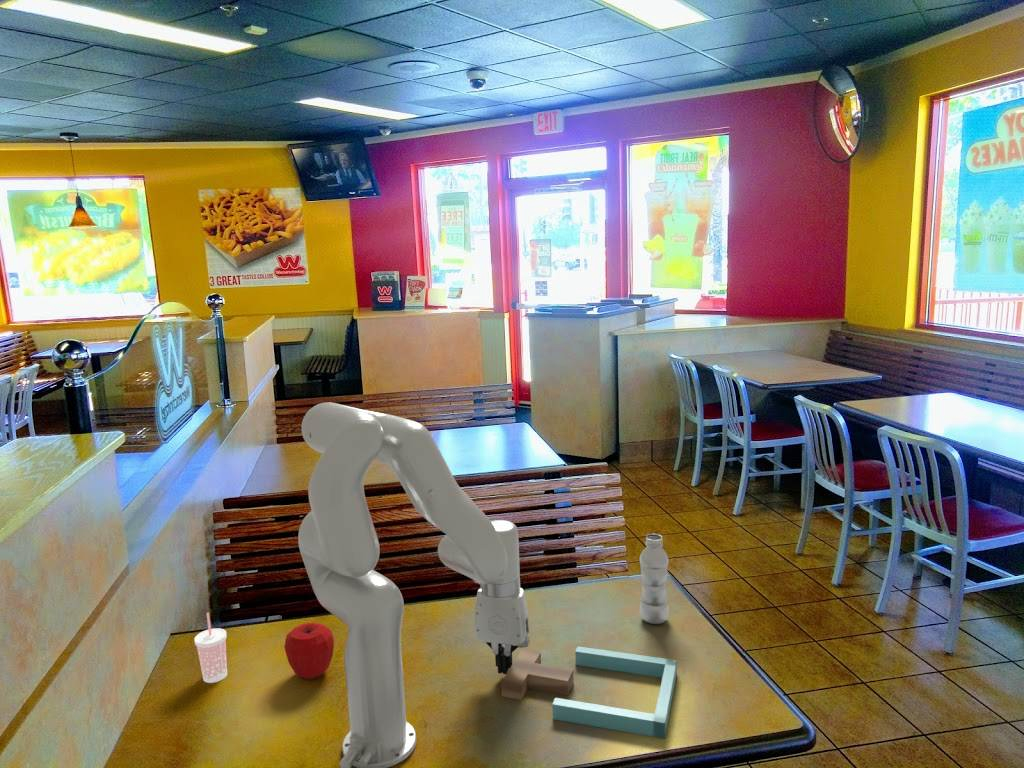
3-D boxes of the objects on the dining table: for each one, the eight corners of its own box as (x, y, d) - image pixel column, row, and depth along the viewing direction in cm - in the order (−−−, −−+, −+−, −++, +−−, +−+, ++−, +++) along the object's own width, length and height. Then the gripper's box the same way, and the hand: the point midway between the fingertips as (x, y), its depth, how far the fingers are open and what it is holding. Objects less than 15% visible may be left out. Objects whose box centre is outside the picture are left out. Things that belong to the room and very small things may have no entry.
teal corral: (664, 738, 127) (664, 723, 126) (552, 719, 133) (552, 704, 132) (676, 674, 145) (676, 660, 145) (577, 659, 152) (577, 646, 151)
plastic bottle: (647, 630, 162) (647, 544, 158) (634, 615, 169) (634, 533, 165) (674, 625, 164) (674, 540, 160) (660, 611, 170) (660, 529, 166)
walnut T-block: (562, 707, 136) (561, 693, 136) (501, 696, 140) (501, 681, 140) (579, 672, 147) (578, 658, 147) (522, 662, 151) (522, 649, 151)
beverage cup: (218, 664, 154) (210, 603, 152) (237, 672, 151) (230, 609, 148) (192, 679, 149) (184, 616, 146) (212, 688, 146) (204, 623, 143)
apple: (346, 671, 150) (342, 622, 148) (306, 694, 143) (302, 642, 141) (317, 655, 157) (313, 608, 154) (277, 676, 149) (272, 627, 147)
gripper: (457, 588, 141) (462, 675, 145) (532, 597, 137) (535, 686, 140) (471, 572, 148) (475, 654, 152) (542, 579, 144) (545, 665, 147)
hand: (504, 669), depth 146 cm, fingers closed
